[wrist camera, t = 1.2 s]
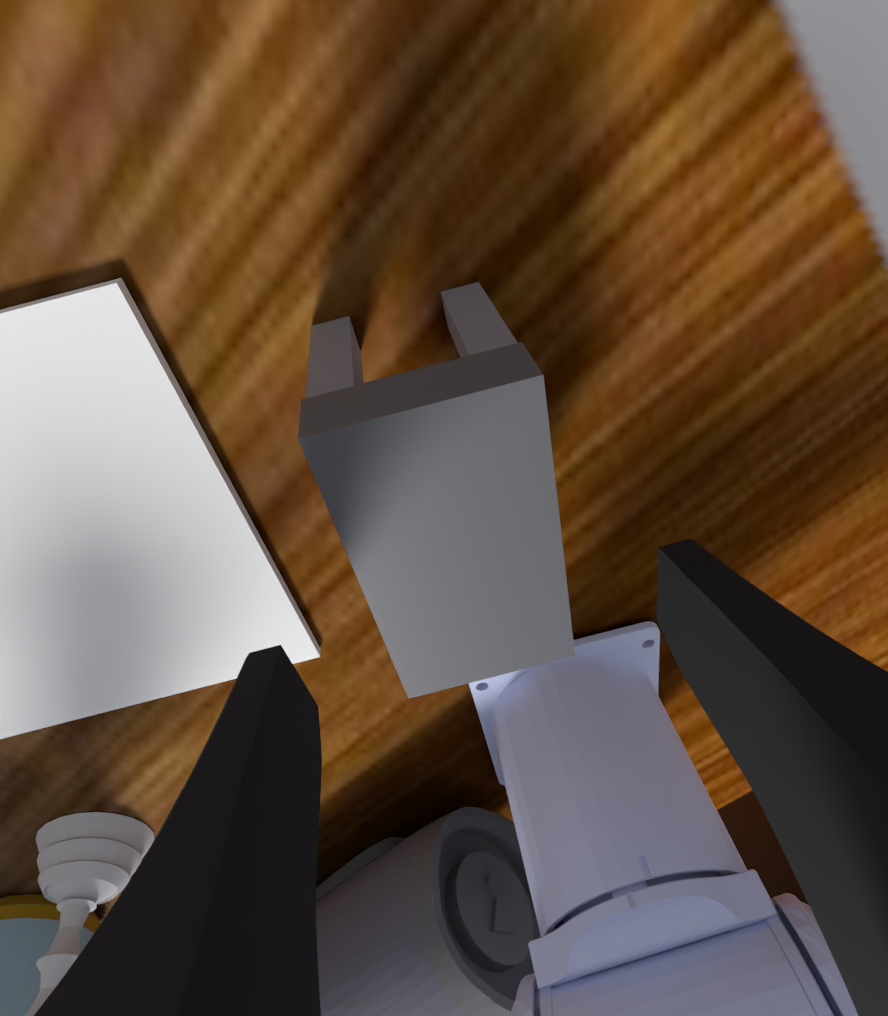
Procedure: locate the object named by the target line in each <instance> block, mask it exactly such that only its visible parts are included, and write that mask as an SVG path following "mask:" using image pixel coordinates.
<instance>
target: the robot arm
mask: <svg viewBox="0 0 888 1016" xmlns="http://www.w3.org/2000/svg"><path fill="white" fill-rule="evenodd" d="M656 619H657V622H658V624H659V626H660V628H661V630H662V633H663V635H664V637H665V639H666V642H667V644H668V646H669V648H670V650H671V652H672V655H673V657H674V659H675V661H676V663H677V665H678V667H679V669H680V671H681V672H682V674H683V676H684V677H685V679H686V681H687V682H688V684H689V686H690V687H691V689H692V691H693V692H694V694H695V696H696V697H697V699H698V701H699V702H700V704H701V706H702V707H703V709H704V710H705V712H706V714H707V715H708V717H709V719H710V720H711V722H712V723H713V725H714V727H715V728H716V730H717V732H718V733H719V735H720V736H721V738H722V740H723V741H724V743H725V745H726V746H727V748H728V749H729V751H730V753H731V754H732V756H733V758H734V759H735V761H736V763H737V764H738V766H739V767H740V769H741V771H742V772H743V774H744V776H745V777H746V779H747V781H748V783H749V784H750V786H751V788H752V790H753V792H754V793H755V795H756V797H757V799H758V800H759V802H760V804H761V806H762V808H763V810H764V812H765V815H766V816H767V819H768V820H769V823H770V825H771V827H772V829H773V831H774V833H775V835H776V837H777V839H778V840H779V843H780V845H781V847H782V849H783V851H784V853H785V855H786V857H787V859H788V861H789V863H790V865H791V868H792V869H793V872H794V874H795V876H796V878H797V880H798V882H799V884H800V886H801V888H802V891H803V893H804V895H805V897H806V899H807V901H808V903H809V906H808V905H806V904H805V903H802V902H800V901H799V900H798V899H797V898H796V897H795V896H793V895H792V894H790V893H786V894H782V895H779V896H776V897H773V899H772V901H771V899H770V897H769V895H768V893H767V891H766V889H765V888H764V886H763V884H762V882H761V880H760V878H759V876H758V874H757V872H756V871H755V870H748V871H747V869H746V867H745V865H744V863H743V861H742V859H741V857H740V855H739V854H738V852H737V849H736V848H735V846H734V844H733V842H732V840H731V838H730V836H729V834H728V832H727V830H726V828H725V826H724V824H723V822H722V820H721V818H720V816H719V814H718V812H717V810H716V808H715V806H714V804H713V802H712V800H711V798H710V796H709V794H708V792H707V790H706V788H705V786H704V785H703V783H702V781H701V779H700V777H699V775H698V773H697V771H696V769H695V767H694V765H693V763H692V761H691V759H690V757H689V755H688V753H687V751H686V749H685V747H684V745H683V743H682V741H681V739H680V737H679V735H678V733H677V731H676V729H675V727H674V725H673V723H672V721H671V720H670V718H669V716H668V714H667V712H666V710H665V708H664V706H663V704H662V702H661V700H660V698H659V696H658V685H659V652H660V630H659V628H658V627H657V625H656V624H655V623H654V622H650V621H647V622H642V623H638V624H634V625H630V626H626V627H622V628H619V629H615V630H611V631H607V632H603V633H599V634H595V635H591V636H587V637H583V638H580V639H576V640H573V641H574V650H575V656H573V657H569V658H565V659H561V660H557V661H554V662H550V663H546V664H542V665H538V666H534V667H530V668H526V669H522V670H518V671H514V672H511V673H507V674H503V675H499V676H495V677H491V678H487V679H483V680H479V681H475V682H472V683H469V686H470V690H471V693H472V696H473V699H474V703H475V706H476V709H477V712H478V716H479V719H480V722H481V725H482V729H483V732H484V735H485V738H486V742H487V745H488V748H489V751H490V755H491V758H492V761H493V764H494V768H495V771H496V774H497V778H498V781H499V783H500V784H502V785H505V787H506V791H507V795H508V800H509V804H510V808H511V812H512V816H513V821H514V825H515V829H516V833H517V838H518V842H519V846H520V850H521V855H522V859H523V863H524V867H525V871H526V876H527V880H528V884H529V888H530V893H531V897H532V901H533V905H534V910H535V914H536V918H537V922H538V926H539V931H540V935H541V937H540V938H538V939H535V940H532V941H530V942H529V943H528V946H529V950H530V955H531V959H532V964H533V968H534V973H533V974H530V975H526V976H525V977H523V979H522V980H521V981H520V984H519V986H518V990H517V994H516V999H515V1002H514V1004H513V1007H512V1010H511V1014H510V1016H888V672H887V671H885V670H883V669H882V668H880V667H878V666H877V665H875V664H873V663H871V662H870V661H868V660H866V659H865V658H863V657H861V656H860V655H858V654H856V653H855V652H853V651H852V650H850V649H848V648H847V647H845V646H843V645H842V644H840V643H839V642H837V641H835V640H834V639H832V638H831V637H829V636H827V635H826V634H824V633H823V632H821V631H820V630H818V629H817V628H815V627H814V626H812V625H810V624H809V623H807V622H806V621H804V620H803V619H802V618H800V617H799V616H797V615H796V614H794V613H793V612H791V611H790V610H788V609H787V608H785V607H784V606H782V605H781V604H780V603H778V602H777V601H775V600H774V599H772V598H771V597H769V596H768V595H767V594H765V593H764V592H762V591H761V590H760V589H758V588H757V587H755V586H754V585H753V584H751V583H750V582H749V581H747V580H746V579H744V578H743V577H742V576H740V575H739V574H738V573H736V572H735V571H734V570H732V569H731V568H730V567H728V566H727V565H726V564H724V563H723V562H722V561H720V560H719V559H718V558H716V557H715V556H714V555H712V554H711V553H710V552H708V551H707V550H706V549H704V548H703V547H702V546H700V545H699V544H698V543H696V542H695V541H693V540H692V539H688V540H684V541H680V542H676V543H673V544H669V545H665V546H661V547H658V577H657V615H656ZM321 766H322V756H321V739H320V726H319V714H318V706H317V704H316V702H315V701H314V699H313V697H312V696H311V694H310V692H309V691H308V689H307V687H306V686H305V684H304V682H303V681H302V679H301V677H300V676H299V674H298V672H297V671H296V669H295V667H294V666H293V664H292V662H291V661H290V659H289V657H288V656H287V654H286V652H285V651H284V649H283V648H282V646H281V645H278V646H274V647H270V648H266V649H262V650H258V651H254V652H251V653H249V654H248V656H247V657H246V659H245V661H244V663H243V665H242V668H241V670H240V672H239V674H238V676H237V679H236V681H235V683H234V685H233V687H232V690H231V692H230V694H229V696H228V698H227V701H226V703H225V705H224V707H223V709H222V711H221V713H220V716H219V718H218V720H217V722H216V724H215V726H214V728H213V730H212V732H211V734H210V736H209V739H208V741H207V743H206V745H205V747H204V749H203V751H202V753H201V755H200V757H199V759H198V761H197V763H196V765H195V767H194V769H193V771H192V773H191V775H190V776H189V778H188V780H187V782H186V784H185V786H184V788H183V789H182V791H181V793H180V795H179V797H178V799H177V800H176V802H175V804H174V806H173V808H172V809H171V811H170V813H169V815H168V817H167V819H166V820H165V822H164V824H163V826H162V828H161V829H160V831H159V833H158V835H157V836H156V838H155V840H154V841H153V843H152V845H151V846H150V848H149V850H148V851H147V853H146V855H145V856H144V858H143V860H142V861H141V863H140V865H139V866H138V868H137V869H136V871H135V873H134V874H133V876H132V877H131V879H130V880H129V882H128V884H127V885H126V887H125V888H124V890H123V891H122V893H121V895H120V896H119V898H118V899H117V901H116V902H115V904H114V905H113V907H112V908H111V909H110V911H109V912H108V914H107V915H106V917H105V918H104V920H103V921H102V923H101V924H100V926H99V927H98V928H97V930H96V931H95V933H94V934H93V936H92V937H91V939H90V940H89V942H88V943H87V945H86V946H85V947H84V949H83V950H82V952H81V953H80V954H79V956H78V957H77V959H76V960H75V961H74V963H73V964H72V966H71V967H70V968H69V970H68V971H67V973H66V974H65V975H64V977H63V978H62V979H61V981H60V982H59V983H58V985H57V986H56V987H55V989H54V990H53V991H52V992H51V994H50V995H49V996H48V998H47V999H46V1000H45V1002H44V1003H43V1004H42V1005H41V1007H40V1008H39V1009H38V1011H37V1012H36V1013H35V1015H34V1016H321V1009H320V992H319V976H318V954H317V931H316V875H317V854H318V834H319V813H320V791H321Z"/></svg>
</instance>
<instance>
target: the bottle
mask: <svg viewBox="0 0 888 1016" xmlns="http://www.w3.org/2000/svg"><path fill="white" fill-rule="evenodd" d="M56 906H57V904H56V903H53V902H51V901H49V900H48V899H46V898H45V897H44V895H39V894H27V895H13V896H7V897H3V898H0V1016H25V1014H26V1013H27V1012H28V1011H29V1010H30V1008H31V1006H32V1005H33V1003H34V1001H35V999H36V997H37V996H38V994H39V992H40V980H41V973H40V971H39V969H38V967H37V965H36V961H37V960H39V959H40V958H41V957H42V956H43V955H45V954H46V953H47V952H48V950H49V948H50V947H51V945H52V943H53V941H54V939H55V937H56V935H57V933H58V931H59V924H60V915H61V912H60V911H58V910H57V908H56ZM100 924H101V923H100V921H99V919H98V917H97V915H96V913H95V911H92V912H90V913H89V914H88V916H87V918H86V920H85V922H84V924H83V926H82V928H81V930H80V941H79V953H81V952H82V950H83V949H84V947H85V946H86V945H87V943H88V942H89V940H90V939H91V937H92V936H93V934H94V933H95V931H96V930H97V928H98V927H99V926H100Z"/></svg>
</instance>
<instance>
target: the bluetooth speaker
mask: <svg viewBox="0 0 888 1016" xmlns="http://www.w3.org/2000/svg"><path fill="white" fill-rule="evenodd" d="M316 931H317V954H318V976H319V992H320V1009H321V1016H510V1014H511V1010H512V1007H513V1004H514V1002H515V999H516V994H517V990H518V986H519V984H520V981H521V980H522V979H523V977H525V976H526V975H530V974H533V973H534V968H533V964H532V959H531V955H530V950H529V946H528V943H529V942H530V941H532V940H535V939H538V938H540V937H541V935H540V931H539V926H538V922H537V918H536V914H535V910H534V905H533V901H532V897H531V893H530V888H529V884H528V880H527V876H526V871H525V867H524V863H523V859H522V855H521V850H520V846H519V842H518V838H517V833H516V829H515V825H514V822H513V821H511V820H510V819H508V818H506V817H504V816H502V815H500V814H497V813H495V812H492V811H489V810H486V809H482V808H477V807H463V808H460V809H458V810H456V811H454V812H451V813H449V814H447V815H445V816H443V817H441V818H439V819H438V820H436V821H434V822H432V823H430V824H428V825H427V826H425V827H423V828H422V829H420V830H418V831H417V832H415V833H414V834H412V835H411V836H409V837H408V838H402V837H389V838H386V839H384V840H382V841H380V842H378V843H376V844H375V845H373V846H371V847H369V848H368V849H366V850H365V851H363V852H362V853H360V854H359V855H357V856H356V857H355V858H353V859H352V860H351V861H349V862H348V863H347V864H345V865H344V866H343V867H342V868H340V869H339V870H338V871H337V872H335V873H334V874H333V875H332V876H330V877H329V878H328V879H327V880H325V881H324V882H323V883H322V884H320V885H319V886H318V887H317V888H316Z"/></svg>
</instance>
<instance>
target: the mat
mask: <svg viewBox="0 0 888 1016" xmlns="http://www.w3.org/2000/svg"><path fill="white" fill-rule="evenodd" d="M278 645H281V646H282V648H283V649H284V651H285V652H286V654H287V656H288V657H289V659H290V661H291V662H292V664H294V663H298V662H302V661H306V660H310V659H314V658H318V657H320V647H319V645H318V643H317V641H316V639H315V637H314V636H313V634H312V632H311V630H310V628H309V626H308V624H307V623H306V621H305V619H304V617H303V615H302V613H301V611H300V610H299V608H298V606H297V604H296V602H295V600H294V598H293V596H292V595H291V593H290V591H289V589H288V587H287V585H286V583H285V582H284V580H283V578H282V576H281V574H280V572H279V570H278V569H277V567H276V565H275V563H274V561H273V559H272V557H271V555H270V554H269V552H268V550H267V548H266V546H265V544H264V542H263V541H262V539H261V537H260V535H259V533H258V531H257V529H256V527H255V526H254V524H253V522H252V520H251V518H250V516H249V514H248V513H247V511H246V509H245V507H244V505H243V503H242V501H241V500H240V498H239V496H238V494H237V492H236V490H235V488H234V486H233V485H232V483H231V481H230V479H229V477H228V475H227V473H226V472H225V470H224V468H223V466H222V464H221V462H220V460H219V459H218V457H217V455H216V453H215V451H214V449H213V447H212V445H211V444H210V442H209V440H208V438H207V436H206V434H205V432H204V431H203V429H202V427H201V425H200V423H199V421H198V419H197V418H196V416H195V414H194V412H193V410H192V408H191V406H190V404H189V403H188V401H187V399H186V397H185V395H184V393H183V391H182V390H181V388H180V386H179V384H178V382H177V380H176V378H175V377H174V375H173V373H172V371H171V369H170V367H169V365H168V363H167V362H166V360H165V358H164V356H163V354H162V352H161V350H160V349H159V347H158V345H157V343H156V341H155V339H154V337H153V336H152V334H151V332H150V330H149V328H148V326H147V324H146V322H145V321H144V319H143V317H142V315H141V313H140V311H139V309H138V308H137V306H136V304H135V302H134V300H133V298H132V296H131V295H130V293H129V291H128V289H127V287H126V285H125V283H124V281H123V280H122V278H118V279H114V280H111V281H107V282H103V283H99V284H95V285H92V286H88V287H84V288H80V289H77V290H73V291H69V292H65V293H61V294H58V295H54V296H50V297H46V298H42V299H39V300H35V301H31V302H27V303H24V304H20V305H16V306H12V307H8V308H5V309H1V310H0V739H3V738H7V737H11V736H15V735H18V734H22V733H26V732H30V731H34V730H38V729H42V728H46V727H50V726H53V725H57V724H61V723H65V722H69V721H73V720H77V719H81V718H85V717H88V716H92V715H96V714H100V713H104V712H108V711H112V710H116V709H119V708H123V707H127V706H131V705H135V704H139V703H143V702H147V701H151V700H154V699H158V698H162V697H166V696H170V695H174V694H178V693H182V692H186V691H189V690H193V689H197V688H201V687H205V686H209V685H213V684H217V683H221V682H224V681H228V680H232V679H236V678H237V676H238V674H239V672H240V670H241V668H242V665H243V663H244V661H245V659H246V657H247V656H248V654H249V653H251V652H254V651H258V650H262V649H266V648H270V647H274V646H278Z"/></svg>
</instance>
